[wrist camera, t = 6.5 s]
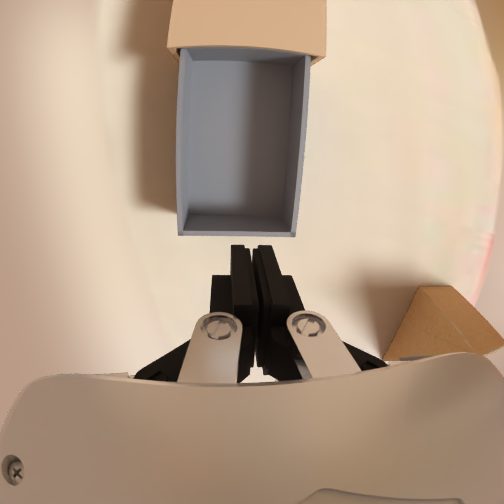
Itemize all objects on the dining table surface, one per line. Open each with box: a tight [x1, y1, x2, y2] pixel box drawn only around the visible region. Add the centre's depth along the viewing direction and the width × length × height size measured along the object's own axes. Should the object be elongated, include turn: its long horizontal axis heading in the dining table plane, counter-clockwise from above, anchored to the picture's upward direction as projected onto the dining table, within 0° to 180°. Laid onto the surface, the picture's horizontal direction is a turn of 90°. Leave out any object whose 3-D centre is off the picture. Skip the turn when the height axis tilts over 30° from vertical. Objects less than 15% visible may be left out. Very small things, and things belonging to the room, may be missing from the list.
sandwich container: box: [382, 286, 504, 361], centre depth 30 cm, size 9×15×15 cm, turn 174°
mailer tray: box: [176, 47, 311, 237], centre depth 20 cm, size 15×9×4 cm, turn 177°
